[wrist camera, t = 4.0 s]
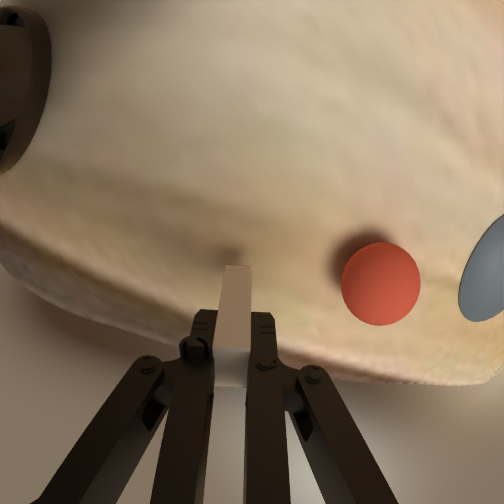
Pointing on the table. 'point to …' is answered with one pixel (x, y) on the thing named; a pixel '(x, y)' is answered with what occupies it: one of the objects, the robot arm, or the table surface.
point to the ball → (380, 283)
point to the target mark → (484, 276)
